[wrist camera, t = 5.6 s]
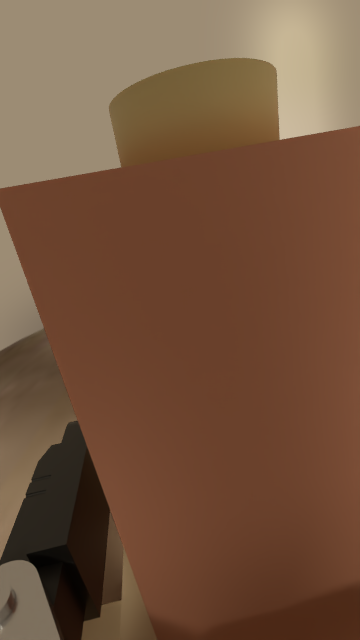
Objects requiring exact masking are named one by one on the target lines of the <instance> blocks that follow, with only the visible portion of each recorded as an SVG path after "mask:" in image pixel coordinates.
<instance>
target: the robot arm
mask: <svg viewBox="0 0 360 640" xmlns="http://www.w3.org/2000/svg"><path fill="white" fill-rule="evenodd" d="M109 513H110V508H109V505H108V502H107V500H106V497H105V494H104V491H103V489H102V486H101V483H100V480H99V478H98V475H97V472H96V469H95V467H94V464H93V461H92V458H91V456H90V453H89V450H88V447H87V445H86V442H85V439H84V436H83V434H82V431H81V428H80V425H79V423H78V421H74V422H70V423H68V425H67V427H66V430H65V433H64V436H63V439H62V443H60V444H55V445H51V447H50V448H49V449H48V450H47V452H46V453H45V454H44V455H43V456H42V458H41V459H40V460H39V461H38V464H37V466H36V469H35V471H34V474H33V477H32V483H30V484H29V487H28V490H27V492H26V498H24V500H23V503H22V505H21V508H20V510H19V513H18V516H17V518H16V521H15V523H14V526H13V528H12V531H11V534H10V536H9V539H8V541H7V544H6V547H5V549H4V552H3V554H2V557H1V560H0V640H81V639H82V631H83V623H84V621H88V620H92V619H95V618H99V617H100V615H101V604H102V592H103V581H104V570H105V558H106V547H107V536H108V525H109Z"/></svg>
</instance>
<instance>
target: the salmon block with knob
mask: <svg viewBox="0 0 360 640" xmlns="http://www.w3.org/2000/svg"><path fill="white" fill-rule="evenodd" d="M109 112H110V117H111V121H112V126H113V131H114V135H115V140H116V144H117V149H118V154H119V158H120V163H121V168H117V169H110V170H105V171H99V172H93V173H87V174H82V175H76V176H70V177H64V178H58V179H53V180H47V181H42V182H35V183H30V184H24V185H18V186H13V187H7V188H1V189H0V208H1V210H2V213H3V216H4V219H5V221H6V224H7V227H8V230H9V233H10V235H11V238H12V241H13V243H14V246H15V249H16V252H17V255H18V257H19V260H20V263H21V266H22V268H23V271H24V274H25V277H26V279H27V282H28V285H29V287H30V290H31V293H32V296H33V298H34V301H35V304H36V307H37V309H38V312H39V315H40V318H41V321H42V323H43V326H44V329H45V332H46V334H47V337H48V340H49V343H50V345H51V348H52V351H53V354H54V356H55V359H56V362H57V365H58V367H59V370H60V373H61V376H62V379H63V381H64V384H65V387H66V390H67V392H68V395H69V398H70V401H71V403H72V406H73V409H74V412H75V414H76V417H77V420H78V423H79V425H80V428H81V431H82V434H83V436H84V439H85V442H86V445H87V447H88V450H89V453H90V456H91V458H92V461H93V464H94V467H95V469H96V472H97V475H98V478H99V480H100V483H101V486H102V489H103V491H104V494H105V497H106V500H107V502H108V505H109V508H110V511H111V513H112V516H113V519H114V522H115V525H116V527H117V530H118V533H119V536H120V538H121V541H122V544H123V547H124V549H125V552H126V555H127V558H128V560H129V563H130V566H131V569H132V571H133V574H134V577H135V580H136V582H137V585H138V588H139V591H140V593H141V596H142V599H143V602H144V604H145V607H146V610H147V613H148V615H149V618H150V621H151V624H152V626H153V629H154V632H155V635H156V637H157V640H360V126H358V127H352V128H347V129H340V130H334V131H329V132H323V133H317V134H311V135H306V136H300V137H294V138H289V139H283V140H279V118H278V96H277V73H276V68H275V67H274V66H273V65H272V64H270V63H268V62H266V61H262V60H257V59H249V58H231V59H219V60H210V61H204V62H199V63H194V64H189V65H186V66H181V67H177V68H174V69H170V70H167V71H164V72H161V73H158V74H155V75H153V76H150V77H148V78H146V79H143V80H141V81H139V82H137V83H135V84H133V85H131V86H130V87H128V88H126V89H125V90H123V91H122V92H120V93H119V94H118V95H117V96H116V97H115V98H114V99H113V100H112V101H111V103H110V105H109Z"/></svg>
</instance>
